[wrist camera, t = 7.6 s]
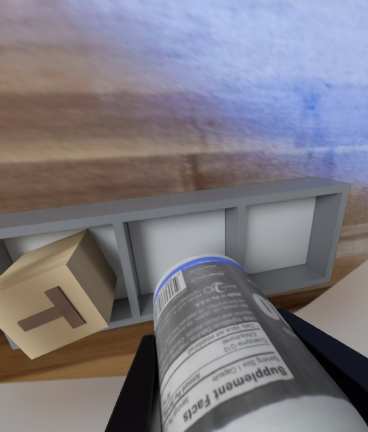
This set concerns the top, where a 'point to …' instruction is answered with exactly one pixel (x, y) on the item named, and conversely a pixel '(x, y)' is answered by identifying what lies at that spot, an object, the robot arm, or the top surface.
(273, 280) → the bay dish
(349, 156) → the top surface
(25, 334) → the letter cube
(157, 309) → the pill bottle
